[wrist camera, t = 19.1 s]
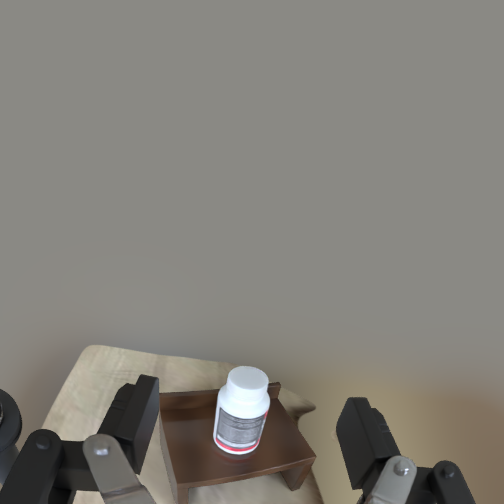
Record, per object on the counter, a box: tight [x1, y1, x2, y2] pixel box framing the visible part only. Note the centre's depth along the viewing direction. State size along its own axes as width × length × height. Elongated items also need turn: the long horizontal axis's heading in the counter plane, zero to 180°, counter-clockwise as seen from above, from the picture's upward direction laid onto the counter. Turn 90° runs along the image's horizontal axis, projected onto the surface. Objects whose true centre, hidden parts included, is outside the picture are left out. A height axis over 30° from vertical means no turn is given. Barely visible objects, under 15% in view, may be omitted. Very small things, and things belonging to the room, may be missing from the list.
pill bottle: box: [213, 366, 270, 454], centre depth 30 cm, size 5×5×10 cm
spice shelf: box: [159, 382, 316, 504], centre depth 33 cm, size 16×12×10 cm
